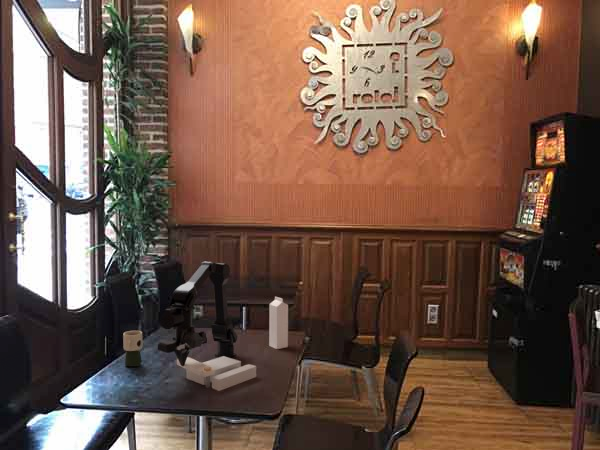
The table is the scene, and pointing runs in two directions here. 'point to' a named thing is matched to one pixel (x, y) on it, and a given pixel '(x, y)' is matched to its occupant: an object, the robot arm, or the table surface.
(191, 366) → the cover
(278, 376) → the table surface
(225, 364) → the white block with cutout
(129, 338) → the character mug
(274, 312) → the milk
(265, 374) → the table surface
